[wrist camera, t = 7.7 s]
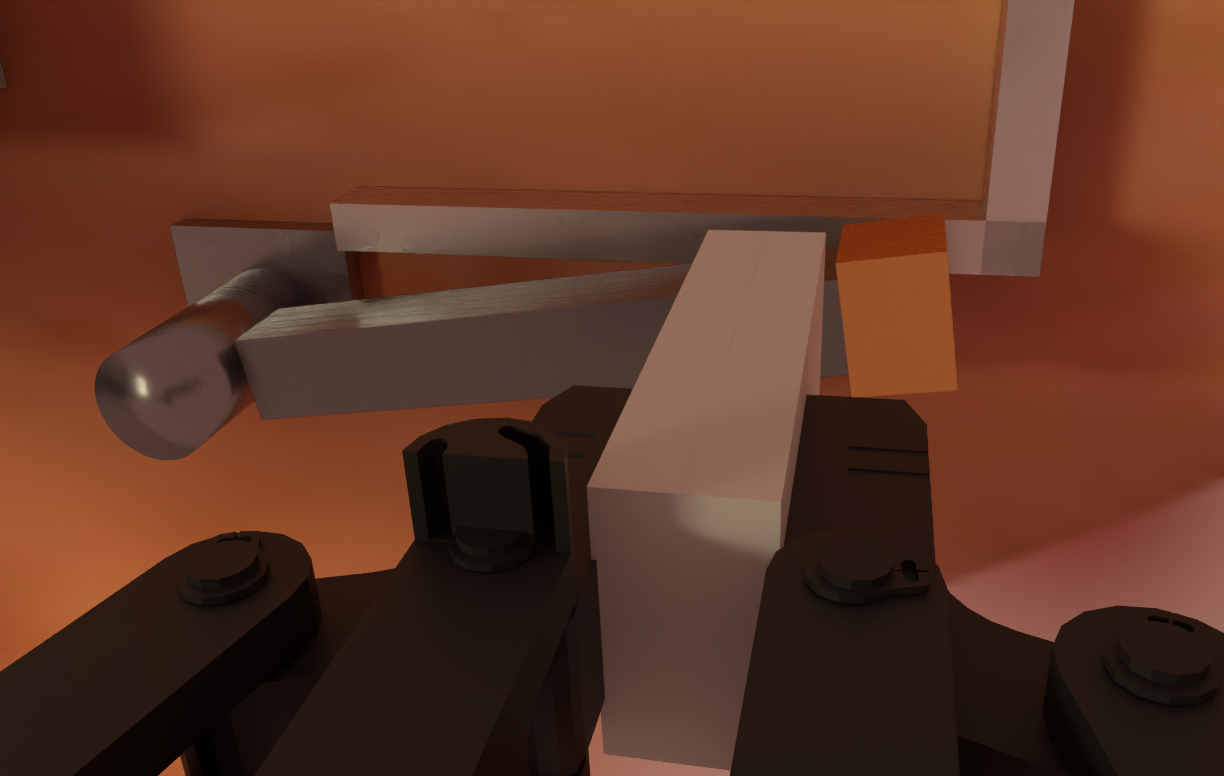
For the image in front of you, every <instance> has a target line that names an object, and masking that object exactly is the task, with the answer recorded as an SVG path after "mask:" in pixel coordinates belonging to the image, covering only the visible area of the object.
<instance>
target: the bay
mask: <svg viewBox="0 0 1224 776" xmlns="http://www.w3.org/2000/svg"><path fill="white" fill-rule="evenodd" d="M1074 2H1075V0H1002V10H1001V20H1000V30H999V40H998V49H997V59H996V69H995V79H994V89H993V99H992V109H991V119H990V129H989V139H988V149H987V158H986V168H985V178H984V188H983V198H982V201H963V200H919V199H875V198H830V197H786V196H742V195H698V194H654V193H609V192H565V191H521V190H477V189H432V188H388V187H356V188H354V189H353V190H351V191H349V192H348V193H346V194H344V195H343V196H341V197H339V198H338V199H336V200H334V201H333V202H331V203H330V208H331V214H332V220H333V227H334V233H335V239H336V246H337V251H364V252H390V253H417V254H443V255H470V256H496V257H523V258H550V259H576V260H603V261H629V262H656V263H682V264H690V263H693V261H694V259H695V257H696V255H697V253H698V251H699V249H700V246H701V244H702V242H703V240H704V238H705V236H706V234H707V232H708V230H739V231H781V232H823V233H826V242H825V249H826V248H835V247H839V243H840V238H841V233H842V228H843V225H847V224H855V223H864V222H873V221H881V220H890V219H898V218H907V217H916V216H924V215H933V214H942V213H944V217H945V229H946V242H947V255H948V268H949V274H975V275H1001V276H1028V277H1039V276H1040V269H1041V261H1042V253H1043V245H1044V237H1045V229H1046V222H1047V214H1048V206H1049V198H1050V190H1051V182H1052V174H1053V167H1054V159H1055V151H1056V143H1057V135H1058V127H1059V120H1060V112H1061V104H1062V96H1063V88H1064V80H1065V73H1066V65H1067V57H1068V49H1069V41H1070V33H1071V26H1072V18H1073V10H1074Z"/></svg>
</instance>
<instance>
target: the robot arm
mask: <svg viewBox="0 0 1224 776" xmlns="http://www.w3.org/2000/svg"><path fill="white" fill-rule="evenodd" d="M825 242H826V233H823V232H781V231H739V230H708V232H707V234H706V236H705V238H704V240H703V242H702V244H701V246H700V249H699V251H698V253H697V255H696V257H695V259H694V261H693V263H692V265H691V268H690V270H689V272H688V274H687V276H686V278H685V280H684V282H683V284H682V287H681V289H680V291H679V293H678V295H677V297H676V299H675V301H674V303H673V306H672V308H671V310H670V312H669V314H668V316H667V318H666V320H665V322H664V325H663V327H662V329H661V331H660V333H659V335H658V337H657V339H656V341H655V344H654V346H653V348H652V350H651V352H650V354H649V356H648V358H647V360H646V363H645V365H644V367H643V369H642V371H641V373H640V375H639V377H638V379H637V382H636V384H635V386H634V388H616V387H598V386H580V385H573V386H571V387H570V388H568V389H567V390H565V391H563V392H562V393H560V394H559V395H557V396H556V397H554V398H552V399H551V400H549V401H548V402H546V403H545V404H543V405H542V406H541V408H540V410H539V411H538V413H537V414H536V416H535V418H534V419H533V421H532V422H530V421H524V420H518V419H512V418H484V419H473V420H468V421H463V422H459V423H454V424H449V425H445V426H443V427H441V428H438V429H436V430H434V431H431V432H429V433H427V434H424V435H422V436H420V437H419V438H417V439H416V440H415V441H414V442H412V443H411V444H410V445H409V446H408V447H406V448H405V449H404V450H403V451H402V452H403V459H404V466H405V473H406V480H407V487H408V494H409V501H410V508H411V515H412V521H413V528H414V535H415V540H414V542H413V543H412V545H411V546H410V548H409V549H408V551H407V552H406V553H405V555H404V556H403V558H402V559H401V561H400V562H399V564H398V565H397V567H396V568H395V569H389V570H383V571H378V572H372V573H363V574H354V575H345V576H336V577H327V578H318V579H315V576H314V571H313V565H312V560H311V557H310V556H309V554H308V552H307V551H306V549H305V547H304V546H303V544H302V543H300V542H298V541H296V540H294V539H292V538H290V537H288V536H286V535H284V534H278V533H269V532H261V531H240V533H236V532H231V533H225V534H220V535H217V536H215V537H213V538H210V539H207V540H203V541H200V542H197V543H194V544H191V545H189V546H187V547H186V548H184V549H182V550H180V551H178V552H176V553H174V554H172V555H171V556H169V557H167V558H165V559H163V560H162V561H161V562H159V563H158V564H156V565H155V566H153V567H152V568H150V569H149V570H147V571H146V572H145V573H143V574H142V575H140V576H139V577H137V578H136V579H134V580H133V581H131V582H130V583H129V584H127V585H126V586H124V587H123V588H121V589H120V590H118V591H117V592H115V593H114V594H113V595H111V596H110V597H108V598H107V599H105V600H104V601H102V602H101V603H99V604H98V605H97V606H95V607H94V608H92V609H91V610H89V611H88V612H86V613H85V614H84V615H82V616H81V617H79V618H78V619H76V620H75V621H73V622H72V623H70V624H69V625H68V626H66V627H65V628H63V629H62V630H60V631H59V632H57V633H56V634H54V635H53V636H52V637H50V638H49V639H47V640H46V641H44V642H43V643H41V644H40V645H38V646H37V647H36V648H34V649H33V650H31V651H30V652H28V653H27V654H25V655H24V656H22V657H21V658H20V659H18V660H17V661H15V662H14V663H12V664H11V665H9V666H8V667H6V668H5V669H4V670H2V671H1V672H0V776H158V775H159V774H160V773H161V772H163V771H164V770H165V769H166V768H167V767H168V766H169V765H170V764H172V763H173V762H174V761H175V760H176V759H177V758H178V757H179V756H180V757H181V761H182V764H183V768H184V771H185V775H186V776H590V766H589V751H588V747H589V745H590V742H591V739H592V735H593V733H594V729H595V727H596V723H597V721H598V718H599V715H600V712H601V718H602V733H603V749H604V754H609V755H617V756H625V757H633V758H640V759H648V760H655V761H663V762H671V763H678V764H686V765H694V766H702V767H709V768H717V769H724V770H731V771H730V776H1224V633H1222V632H1221V631H1219V630H1217V629H1214V628H1213V627H1211V626H1209V625H1207V624H1205V623H1203V622H1201V621H1199V620H1197V619H1193V618H1189V617H1186V616H1183V615H1180V614H1177V613H1176V614H1175V613H1171V612H1169V611H1164V610H1160V609H1157V608H1143V607H1129V606H1113V607H1107V608H1102V609H1097V610H1091V611H1085V612H1083V613H1081V614H1080V615H1078V616H1077V617H1075V618H1073V619H1072V620H1070V621H1068V622H1067V623H1065V624H1064V625H1062V626H1061V628H1060V630H1059V633H1058V635H1057V637H1056V639H1055V642H1051V641H1048V640H1045V639H1041V638H1038V637H1035V636H1031V635H1028V634H1025V633H1021V632H1018V631H1015V630H1013V629H1010V628H1008V627H1005V626H1002V625H1000V624H997V623H994V622H991V621H990V620H988V619H986V618H984V617H982V616H981V615H979V614H977V613H975V612H974V611H972V610H970V609H968V608H967V607H966V606H965V605H963V604H962V603H961V602H960V601H959V600H957V599H956V598H955V597H954V596H953V595H952V594H951V593H950V592H949V591H948V589H947V587H946V584H945V581H944V579H943V577H942V574H941V572H940V569H939V567H938V565H936V564H935V549H934V534H933V518H932V502H931V486H930V479H929V476H930V470H929V457H928V439H927V424H926V423H925V422H924V421H923V420H922V419H921V418H920V417H919V416H918V414H917V413H916V412H915V411H914V410H913V409H912V408H911V407H910V406H909V405H908V404H907V403H906V401H905V400H894V399H876V398H858V397H840V396H822V395H820V370H821V344H822V319H823V293H824V268H825Z"/></svg>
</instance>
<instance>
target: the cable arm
mask: <svg viewBox="0 0 1224 776" xmlns="http://www.w3.org/2000/svg"><path fill="white" fill-rule="evenodd" d="M691 265H692V263H690V264H681V265H672V266H663V267H653V268H644V269H635V270H626V271H617V272H608V273H599V274H590V275H581V276H572V277H563V278H553V279H544V280H535V281H526V282H517V283H508V284H499V285H490V286H481V287H472V288H463V289H453V290H444V291H435V292H426V293H417V294H408V295H399V296H390V297H381V298H372V299H363V300H353V301H344V302H335V303H326V304H317V305H308V306H299V307H290V308H281V309H278V310H276V311H275V312H273V313H272V314H271V315H269V316H268V317H267V318H265V319H264V320H262V321H261V322H260V323H258V324H257V325H255V326H254V327H253V328H251V329H250V330H249V331H247V332H246V333H244V334H243V335H242V336H240V337H239V338H238V339H236V340H235V341H234V342H235V345H236V348H237V350H238V353H239V356H240V359H241V362H242V365H243V367H244V370H245V373H246V376H247V379H248V382H249V384H250V387H251V390H252V393H253V396H254V399H255V401H256V404H257V407H258V410H259V413H260V416H261V418H262V420H264V419H277V418H291V417H304V416H317V415H330V414H343V413H357V412H370V411H383V410H396V409H409V408H423V407H436V406H449V405H462V404H475V403H489V402H502V401H515V400H528V399H542V398H554V397H556V396H557V395H559V394H560V393H562V392H563V391H565V390H567V389H568V388H570V387H571V386H573V385H580V386H598V387H616V388H634V386H635V384H636V382H637V379H638V377H639V375H640V373H641V371H642V369H643V367H644V365H645V363H646V360H647V358H648V356H649V354H650V352H651V350H652V348H653V346H654V344H655V341H656V339H657V337H658V335H659V333H660V331H661V329H662V327H663V325H664V322H665V320H666V318H667V316H668V314H669V312H670V310H671V308H672V306H673V303H674V301H675V299H676V297H677V295H678V293H679V291H680V289H681V287H682V284H683V282H684V280H685V278H686V276H687V274H688V272H689V270H690V268H691ZM845 375H849V380H850V389H851V397H871V396H885V395H899V394H914V393H928V392H942V391H957V390H958V386H957V372H956V359H955V346H954V333H953V320H952V307H951V294H950V281H949V268H948V255H947V242H946V229H945V217H944V213H942V214H933V215H924V216H916V217H907V218H898V219H890V220H881V221H873V222H864V223H855V224H847V225H843V228H842V233H841V238H840V243H839V247H835V248H826V249H825V268H824V293H823V319H822V344H821V370H820V377H832V376H845Z"/></svg>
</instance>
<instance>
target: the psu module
mask: <svg viewBox="0 0 1224 776" xmlns="http://www.w3.org/2000/svg"><path fill="white" fill-rule="evenodd" d="M6 87H7V83H6V80H5V76H4V72H3V69H2V65H1V61H0V89H2V88H6Z"/></svg>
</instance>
